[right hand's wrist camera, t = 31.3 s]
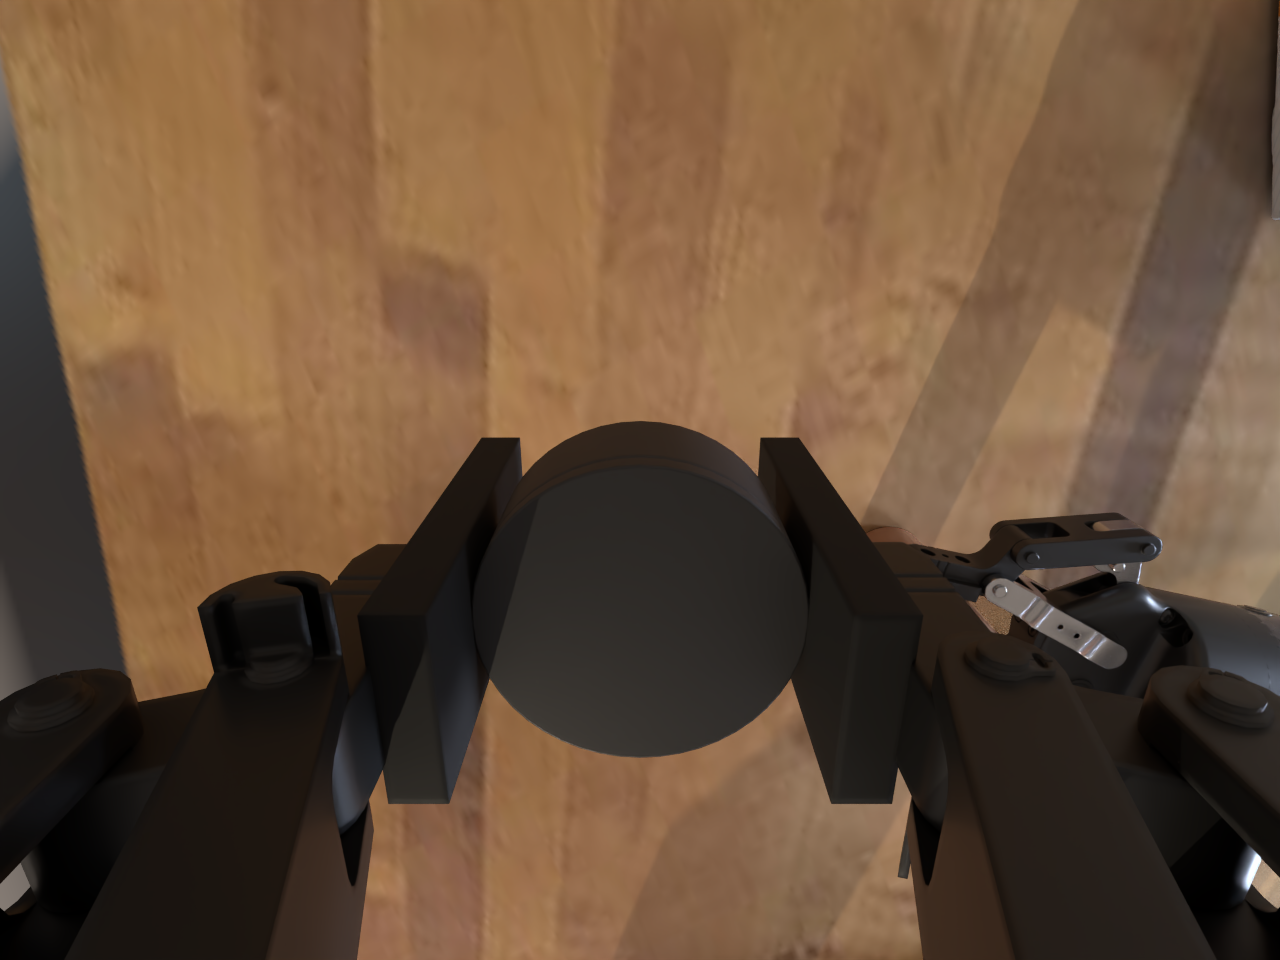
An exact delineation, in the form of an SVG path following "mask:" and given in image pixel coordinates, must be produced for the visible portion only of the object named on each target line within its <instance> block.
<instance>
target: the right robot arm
mask: <svg viewBox="0 0 1280 960" xmlns="http://www.w3.org/2000/svg"><path fill="white" fill-rule="evenodd" d="M758 478H759V479H760V481H761V482H762V484H763V485H764V487H765V488H766V490H767V492H768V493H769V495H770V498H771V500H772V502H773V504H774V506H775V509H776V511H777V513H778V515H779V517H780V520H781V522H782V524H783V526H784V528H785V531H786V533H787V535H788V537H789V539H790V541H791V544H792V546H793V548H794V550H795V552H796V555H797V557H798V559H799V561H800V563H801V566H802V569H803V572H804V576H805V579H806V583H807V588H808V596H809V614H808V625H807V634H806V642H805V646H804V649H803V652H802V655H801V658H800V661H799V663H798V665H797V667H796V669H795V671H794V673H793V675H792V677H791V680H792V683H793V687H794V690H795V693H796V696H797V699H798V702H799V705H800V708H801V711H802V714H803V718H804V721H805V724H806V727H807V730H808V733H809V736H810V739H811V742H812V745H813V749H814V752H815V755H816V758H817V761H818V764H819V767H820V770H821V773H822V776H823V779H824V783H825V786H826V789H827V792H828V795H829V798H830V801H831V804H892V800H893V794H894V788H895V782H896V776H897V770H898V768H899V770H900V772H901V774H902V776H903V778H904V780H905V783H906V785H907V787H908V789H909V791H910V793H911V796H912V797H911V803H910V809H909V814H908V820H907V825H906V831H905V836H904V842H903V847H902V853H901V859H900V865H899V872H898V877H901V878H905V879H908V874H909V868H910V864H911V869H912V877H913V884H914V892H915V899H916V907H917V915H918V922H919V930H920V938H921V945H922V953H923V960H1280V908H1279V909H1277V908H1275V907H1274V906H1273V905H1272V904H1271V903H1270V902H1268V901H1267V900H1266V899H1265V898H1264V897H1263V896H1262V895H1261V894H1260V893H1259V892H1258V891H1257V889H1256V888H1255V887H1254V886H1253V885H1252V884H1251V883H1252V880H1253V878H1254V876H1255V873H1256V871H1257V869H1258V866H1259V864H1260V862H1261V859H1262V860H1263V861H1264V862H1265V863H1266V864H1267V865H1268V866H1269V867H1270V868H1271V869H1272V870H1273V871H1274V872H1275V873H1276V874H1277V875H1278V876H1279V877H1280V696H1278V695H1277V694H1275V693H1273V692H1272V691H1270V690H1268V689H1267V688H1264V687H1262V686H1260V685H1257V684H1255V683H1253V682H1250V681H1248V680H1246V679H1245V678H1243V677H1242V676H1239V675H1236V674H1233V673H1230V672H1227V671H1225V673H1224V672H1222V671H1221V670H1218V669H1214V668H1209V667H1204V668H1203V667H1194V666H1184V665H1179V666H1172V667H1164V668H1161V669H1160V670H1158V671H1157V672H1156V673H1154V674H1153V675H1152V676H1151V678H1150V681H1149V684H1148V687H1147V690H1146V694H1145V697H1144V699H1140V698H1135V697H1130V696H1125V695H1119V694H1114V693H1109V692H1104V691H1098V690H1093V689H1088V688H1084V687H1080V686H1076V685H1073V684H1072V683H1071V681H1070V679H1069V677H1068V675H1067V673H1066V671H1065V670H1064V669H1063V668H1062V667H1061V666H1060V664H1059V663H1058V662H1057V661H1056V660H1055V659H1054V658H1053V657H1052V656H1050V655H1049V654H1047V653H1046V652H1044V651H1043V650H1041V649H1039V648H1038V647H1036V646H1035V645H1032V644H1030V643H1027V642H1025V641H1022V640H1020V639H1017V638H1015V637H1012V636H1008V635H1003V634H999V633H994V632H991V631H990V630H989V629H988V627H987V626H986V625H985V624H984V623H983V621H982V620H981V619H980V618H979V617H978V615H977V614H976V613H975V612H974V611H973V610H972V608H971V607H970V606H969V605H968V604H967V602H966V601H965V600H964V599H963V598H962V596H961V595H960V594H959V593H958V592H955V588H954V587H953V586H952V584H951V583H950V582H949V581H948V580H947V578H943V574H942V572H941V571H940V570H939V569H938V568H937V566H936V565H935V564H934V563H933V562H932V560H931V559H930V558H929V557H928V556H926V555H924V554H923V553H921V552H919V551H918V550H916V549H914V548H913V547H911V546H909V545H907V544H906V543H904V542H872V541H871V540H870V538H869V537H868V536H867V534H866V533H865V531H864V530H863V528H862V527H861V526H860V524H859V523H858V521H857V520H856V519H855V517H854V516H853V514H852V513H851V511H850V510H849V509H848V507H847V506H846V504H845V503H844V501H843V500H842V499H841V497H840V496H839V494H838V493H837V491H836V490H835V489H834V487H833V486H832V484H831V483H830V482H829V480H828V479H827V477H826V476H825V474H824V473H823V472H822V470H821V469H820V467H819V466H818V464H817V463H816V462H815V460H814V459H813V457H812V456H811V454H810V453H809V452H808V450H807V449H806V447H805V446H804V445H803V443H802V442H801V440H800V439H799V438H761V439H760V455H759V470H758ZM521 479H522V463H521V448H520V438H481V439H480V441H479V442H478V444H477V445H476V447H475V448H474V449H473V451H472V452H471V454H470V455H469V457H468V458H467V459H466V461H465V462H464V464H463V465H462V467H461V468H460V469H459V471H458V472H457V474H456V475H455V476H454V478H453V479H452V481H451V482H450V484H449V485H448V486H447V488H446V489H445V491H444V492H443V494H442V495H441V496H440V498H439V499H438V501H437V502H436V504H435V505H434V506H433V508H432V509H431V511H430V512H429V514H428V515H427V516H426V518H425V519H424V521H423V522H422V523H421V525H420V526H419V528H418V529H417V531H416V532H415V533H414V535H413V536H412V538H411V539H410V541H409V542H408V543H407V544H377V545H376V546H374V547H372V548H371V549H369V550H367V551H365V552H364V553H362V554H360V555H359V556H357V557H355V558H354V559H352V560H351V562H350V563H349V564H348V565H347V566H346V568H345V569H344V570H343V571H342V572H341V574H340V575H339V576H338V580H335V581H334V582H333V583H332V584H331V586H330V582H329V581H328V580H326V579H325V578H324V577H322V576H321V575H320V574H315V573H310V572H305V571H278V572H273V573H268V574H262V575H257V576H253V577H250V578H247V579H244V580H241V581H238V582H235V583H232V584H230V585H228V586H226V587H224V588H222V589H220V590H219V591H217V592H215V593H213V594H211V595H210V596H209V597H208V598H207V599H206V600H205V601H204V602H203V603H202V604H200V605H199V606H198V607H197V608H198V612H199V616H200V620H201V624H202V628H203V631H204V635H205V639H206V643H207V647H208V651H209V654H210V658H211V662H212V666H213V670H214V674H213V676H212V678H211V680H210V682H209V684H208V686H207V688H206V689H202V690H198V691H194V692H189V693H183V694H178V695H173V696H168V697H162V698H157V699H152V700H147V701H142V702H138V701H137V698H136V695H135V692H134V689H133V685H132V682H131V679H130V678H128V677H127V676H126V675H124V674H123V673H122V672H120V671H115V670H108V669H91V670H81V671H70V672H65V673H61V674H60V675H59V676H57V675H53V676H50V677H47V678H44V679H41V680H39V681H37V682H36V683H35V684H32V685H30V686H28V687H26V688H23V689H21V690H18V691H16V692H14V693H13V694H11V695H9V696H8V697H6V698H4V699H3V700H1V701H0V883H1V882H2V881H3V880H4V879H5V878H6V877H7V876H8V875H9V874H10V873H11V872H12V871H13V870H14V869H15V868H16V867H17V866H18V864H20V863H21V865H22V867H23V870H24V872H25V874H26V877H27V879H28V881H29V884H30V886H31V887H30V888H29V889H28V890H27V891H26V892H25V893H24V894H23V896H22V897H21V898H20V899H19V900H18V901H17V902H15V903H14V904H13V905H12V906H10V907H9V908H8V909H7V910H6V911H3V910H2V909H1V908H0V960H357V955H358V947H359V939H360V932H361V924H362V916H363V909H364V901H365V894H366V886H367V878H368V871H369V863H370V855H371V848H372V840H373V833H374V828H373V821H372V814H371V809H370V803H369V798H370V796H371V794H372V792H373V789H374V787H375V785H376V783H377V781H378V779H379V776H380V774H381V772H382V770H383V774H384V780H385V786H386V792H387V798H388V804H449V803H450V799H451V796H452V793H453V790H454V787H455V784H456V781H457V778H458V775H459V772H460V768H461V765H462V762H463V759H464V756H465V753H466V750H467V747H468V744H469V741H470V737H471V734H472V731H473V728H474V725H475V722H476V719H477V716H478V713H479V710H480V706H481V703H482V700H483V697H484V694H485V691H486V688H487V685H488V682H489V679H490V677H489V675H488V673H487V671H486V669H485V667H484V665H483V663H482V661H481V659H480V656H479V653H478V650H477V647H476V644H475V639H474V630H473V620H472V607H471V601H472V593H473V586H474V581H475V578H476V575H477V571H478V568H479V565H480V562H481V560H482V558H483V556H484V554H485V551H486V549H487V547H488V545H489V543H490V541H491V538H492V536H493V534H494V532H495V530H496V527H497V525H498V523H499V521H500V519H501V516H502V514H503V512H504V510H505V508H506V505H507V503H508V501H509V499H510V497H511V495H512V493H513V491H514V489H515V488H516V486H517V485H518V483H519V482H520V480H521Z"/></svg>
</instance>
